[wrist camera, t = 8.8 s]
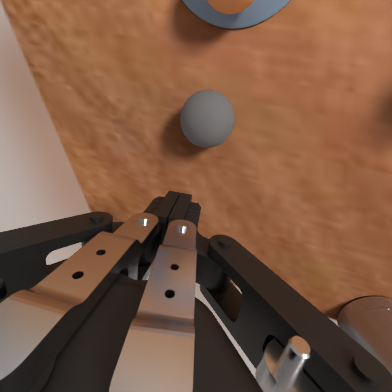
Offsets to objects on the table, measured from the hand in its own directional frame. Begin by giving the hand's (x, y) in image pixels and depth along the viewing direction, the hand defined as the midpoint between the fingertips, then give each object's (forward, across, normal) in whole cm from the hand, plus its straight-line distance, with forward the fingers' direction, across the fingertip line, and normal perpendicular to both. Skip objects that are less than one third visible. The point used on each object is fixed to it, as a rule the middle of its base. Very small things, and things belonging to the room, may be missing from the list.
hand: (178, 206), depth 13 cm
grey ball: (+10, 0, -5) cm, 11 cm away
